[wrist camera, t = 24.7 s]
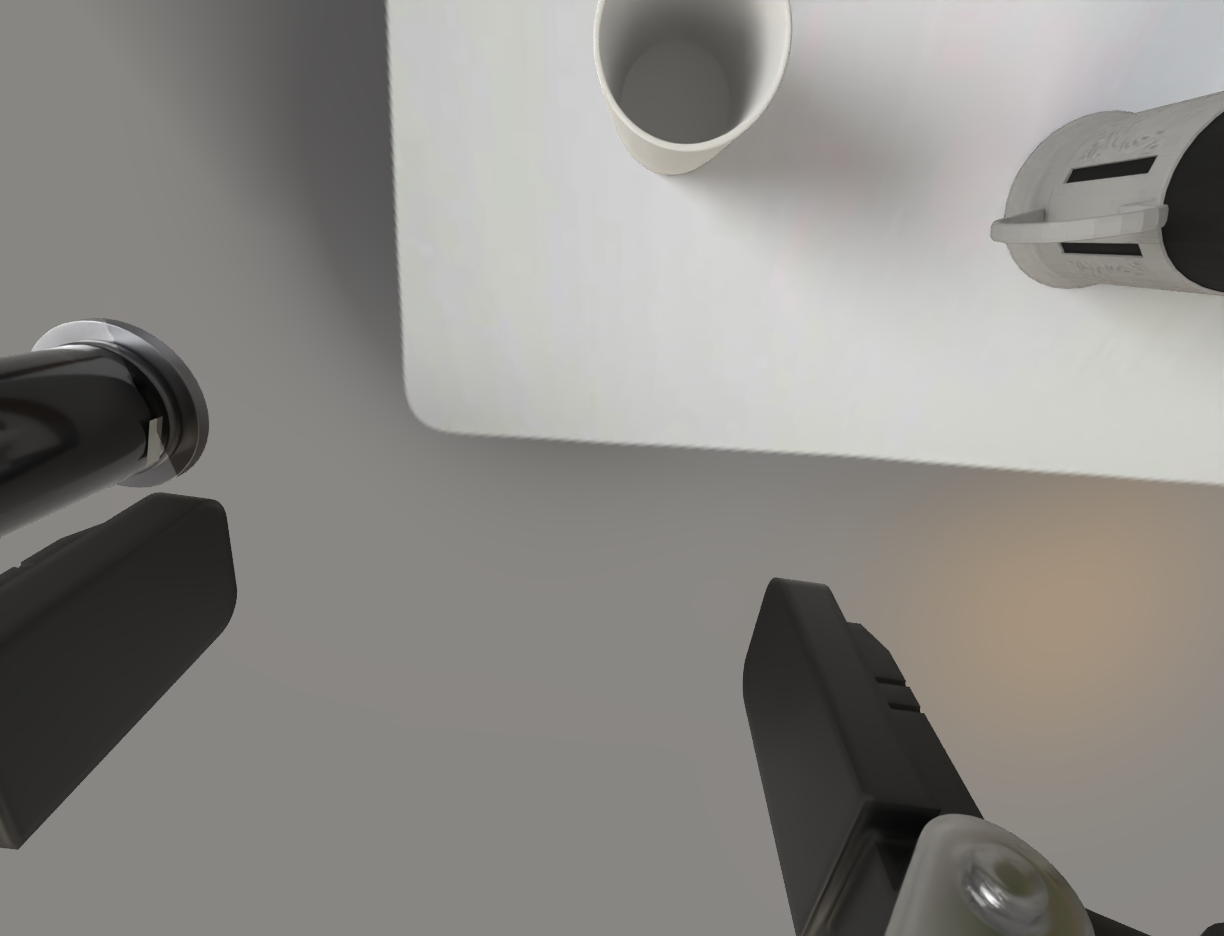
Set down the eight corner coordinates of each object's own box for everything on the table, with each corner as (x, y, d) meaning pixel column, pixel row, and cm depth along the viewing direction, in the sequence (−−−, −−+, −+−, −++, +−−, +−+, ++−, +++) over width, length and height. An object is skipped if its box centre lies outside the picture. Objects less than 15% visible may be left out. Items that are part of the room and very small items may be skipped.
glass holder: (1164, 274, 33) (1540, 302, 19) (900, 314, 35) (1074, 367, 21) (1192, 95, 30) (1661, -24, 16) (901, 147, 32) (1107, 77, 18)
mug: (755, 147, 32) (817, 99, 21) (639, 202, 33) (638, 184, 22) (688, -68, 29) (719, -262, 18) (562, 0, 30) (517, -140, 19)
